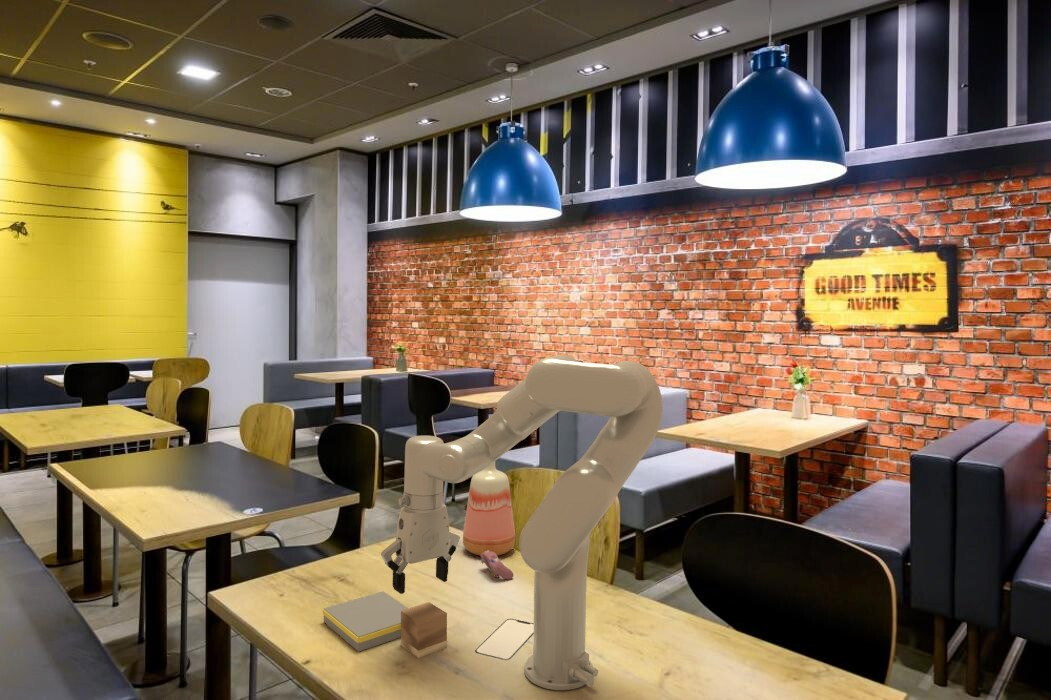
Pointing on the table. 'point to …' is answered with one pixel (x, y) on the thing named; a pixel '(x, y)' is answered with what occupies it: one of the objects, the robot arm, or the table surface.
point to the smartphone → (506, 639)
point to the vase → (489, 514)
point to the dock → (366, 620)
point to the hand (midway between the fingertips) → (420, 585)
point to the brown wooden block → (423, 629)
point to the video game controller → (496, 565)
